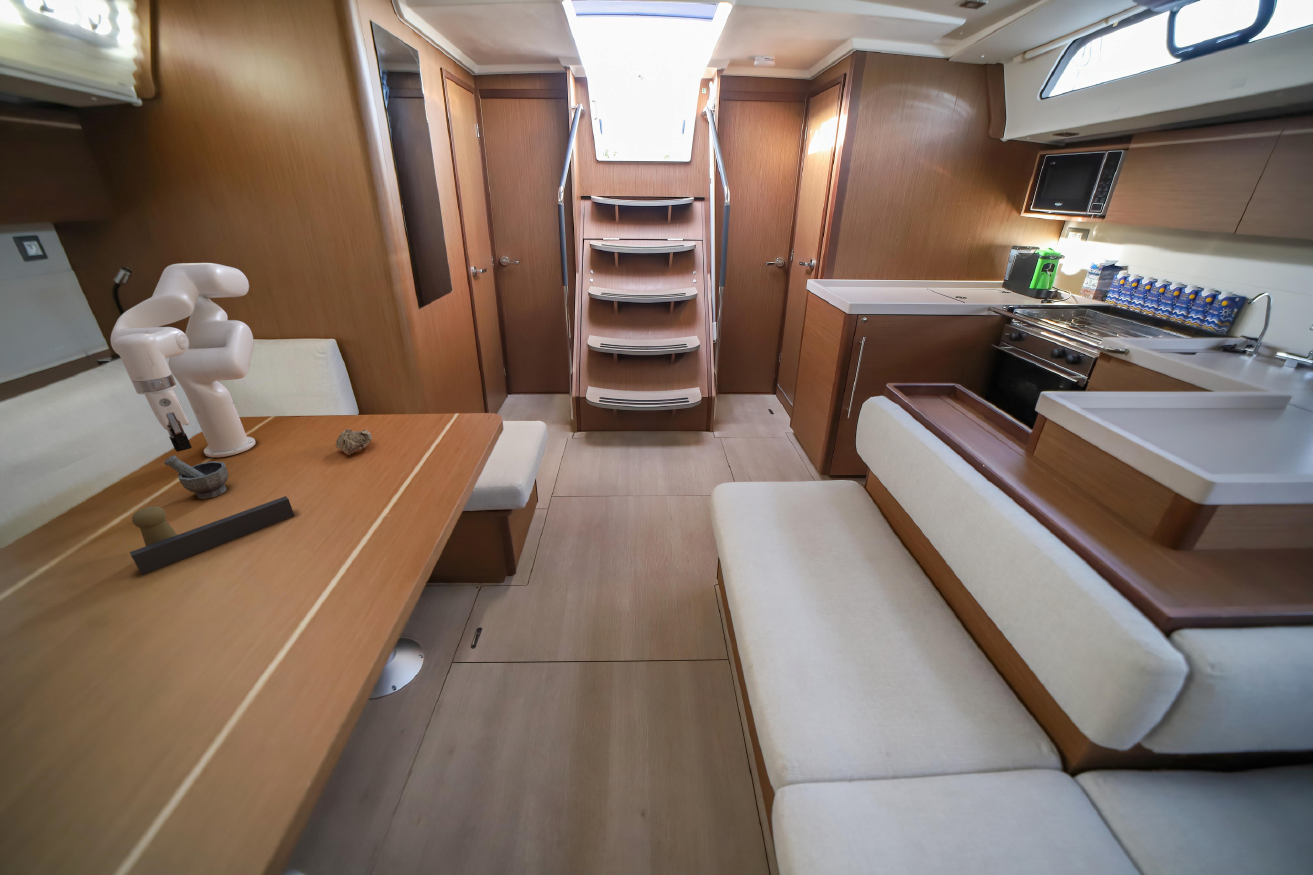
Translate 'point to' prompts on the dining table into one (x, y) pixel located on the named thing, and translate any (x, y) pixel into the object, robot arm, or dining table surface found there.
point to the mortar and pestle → (201, 477)
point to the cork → (153, 524)
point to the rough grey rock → (353, 440)
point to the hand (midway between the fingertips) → (183, 449)
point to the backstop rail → (211, 535)
